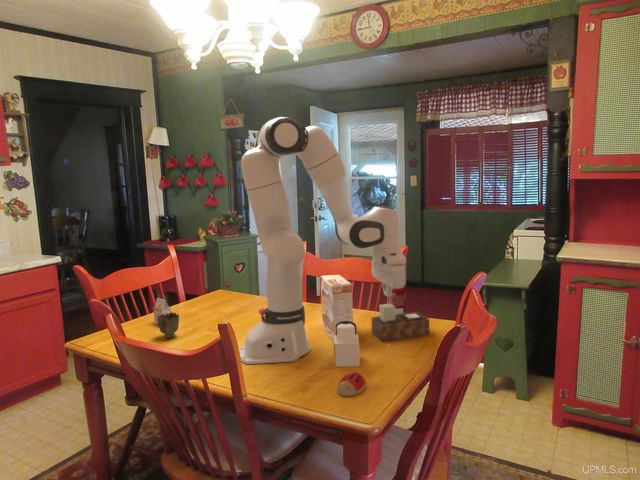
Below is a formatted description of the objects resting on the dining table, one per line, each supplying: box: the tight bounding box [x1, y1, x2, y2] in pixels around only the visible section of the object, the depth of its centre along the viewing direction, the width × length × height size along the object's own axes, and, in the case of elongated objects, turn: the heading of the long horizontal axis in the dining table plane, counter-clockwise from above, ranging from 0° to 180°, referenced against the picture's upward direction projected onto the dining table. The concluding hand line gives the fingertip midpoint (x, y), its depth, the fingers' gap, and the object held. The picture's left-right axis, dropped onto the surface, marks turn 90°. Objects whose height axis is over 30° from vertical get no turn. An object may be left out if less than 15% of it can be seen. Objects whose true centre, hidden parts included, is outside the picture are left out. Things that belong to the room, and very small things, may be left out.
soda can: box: [386, 287, 407, 315], centre depth 182 cm, size 7×7×12 cm
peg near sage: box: [378, 303, 395, 321], centre depth 160 cm, size 4×4×6 cm
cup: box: [157, 311, 180, 339], centre depth 169 cm, size 8×7×8 cm
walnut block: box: [371, 311, 430, 343], centre depth 162 cm, size 17×9×6 cm, turn 105°
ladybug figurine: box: [336, 372, 367, 397], centre depth 124 cm, size 7×10×4 cm
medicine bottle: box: [333, 321, 361, 368], centre depth 141 cm, size 7×7×12 cm
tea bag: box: [153, 297, 172, 325], centre depth 183 cm, size 4×7×10 cm, turn 45°
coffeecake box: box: [320, 274, 354, 343], centre depth 163 cm, size 15×7×20 cm, turn 14°
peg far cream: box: [405, 314, 420, 318], centre depth 163 cm, size 4×4×6 cm
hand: (387, 295), depth 160 cm, fingers closed
